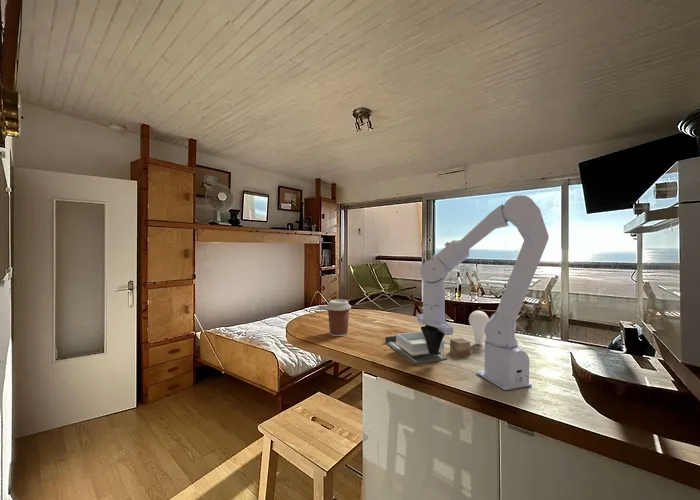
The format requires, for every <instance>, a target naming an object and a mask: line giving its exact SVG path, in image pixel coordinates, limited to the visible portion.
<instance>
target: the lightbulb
mask: <svg viewBox="0 0 700 500" xmlns="http://www.w3.org/2000/svg"><path fill="white" fill-rule="evenodd" d="M489 319H490V317H489V316H488V315H487V313H486V312H484V311H482V310H474V311H472V312H471V313H470V314H469V317H468V322H469V325H470V326H471V329H472V332H473V337H474V340H473V341H474V343H475V344H477V345H481V344H483V343H484V337H485V326H486V324H487V323H488V322H489Z"/></svg>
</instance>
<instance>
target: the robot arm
mask: <svg viewBox="0 0 700 500" xmlns="http://www.w3.org/2000/svg"><path fill="white" fill-rule="evenodd" d="M541 211H542V210H541V208H540V207H539V206H538V205H537V204H536V203H535V202H534V200H533V199H532V198H530V197H529V196H527V195H523V194H517V195H514V196H511V197H510V198H508V199H507V200H506V201H505V203H504V204H503V203H501V204H500V205H499V206H497V207H496V208H495V209H493V210H492V211H491V212H489V213H488V214H487V215H486V216H485V217H484V218H483V219H482V220H481V221H480V222H479V223H477V225H475V226H474V227H473V228H472V229H471V230H470V231H469V232H468V233H467V234H466V235H465V236H464V237H463V238H461V239H460V240H458V239H453V240H451V241H447V242H446V243H444V246H445V247H444V248H442V249H441V250H440V251H439V252H438V253H436V254H433V255H432V256H431V259H429V260H426V261H424V263H423V264H422V265H421V267H420V275H421V278H422V281H423V283H422V284H423V286H422V313H418V314H416V321H417V322H418V323H419V324H421V325H422V326H421V327H420V331H421V332H423V334H424V337H425V339H426V343H427V347H428V352H429V353H430V354H431V355H434V354H438V352H439V348H440V344H441V342H442V340H443V339H444V337H445V336H451V335H454V327H453V326H452V325H450V324H449V323H448V322H447V321H446V320H445V319H446V317H445V316H446V314H445V312H446V311H445V310H446V306H445V305H446V304H445V303H446V302H445V301H446V299H445V298H446V297H445V295H446V288H445V283H446V282H445V278H446V277H447V276H448V272H452V271H453V270H455V268H457V267H458V266H459V265H460V264H461V263H463V262H464V261H465V260H466V259H468V258H469V257H470V249H472V248H473V247H474V246H475V245H477V244H478V243H479V242H480V241H482V240H483V239H484V238H486V237H487V236H488V235H490V233H492V232H493V231H494V230H496V229H501V228H506V227H509V224H508V223H509V222H510V224H512V225H513V226H514V227H515V228H516V229H517V231H518V232H519V235H520V236H521V238H522V239H523V242H522V245H521V248H520V250H519V252H518V255H517V258H516V260H515V263H514V266H513V268H512V270H511V273H510V276H509V278H508V281H507V284H506V286H505V289H504V291H503V292H502V293H503V294H502V296H501V298H500V301H499V304H498V307H497V308H496V311H495V312H494V313H492V314H491V315H490V317H489V322H488V323H487V324H486V326H485V333H484V337H485V338H484V369H482V370H477V371H476V374H478V376H480V377H482V378H483V379H486V381H489V382H491V383H492V384H493V385H495V386H497V387H499V388H500V389H502V390H504V391H508V390H514V389H519V388H525V387H531V386H532V385H533V384H532V383H533V382H532V383H531V381H530V357H529V355H528V353H527V352H525V351H524V350H522V349H521V348H520V346H519V342H518V340H516V337H515V335H516V330H517V325H518V324H517V319H518V316H519V314H520V310H521V308H522V307H523V306H522V305H523V303H524V300H525V297H526V295H527V293H528V291H529V288H530V285H531V284H532V282H533V278H534V276H535V273H536V271H537V268H538V266H539V264H540V261H541V260H542V256H543V253H544V251H545V249H546V246H547V244H548V242H549V233H548V230H547V227H546V224H545V220H544V218H543V214H542V212H541ZM423 325H424V326H423Z"/></svg>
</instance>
